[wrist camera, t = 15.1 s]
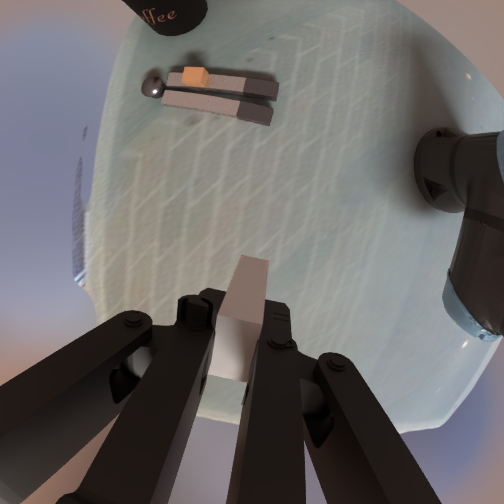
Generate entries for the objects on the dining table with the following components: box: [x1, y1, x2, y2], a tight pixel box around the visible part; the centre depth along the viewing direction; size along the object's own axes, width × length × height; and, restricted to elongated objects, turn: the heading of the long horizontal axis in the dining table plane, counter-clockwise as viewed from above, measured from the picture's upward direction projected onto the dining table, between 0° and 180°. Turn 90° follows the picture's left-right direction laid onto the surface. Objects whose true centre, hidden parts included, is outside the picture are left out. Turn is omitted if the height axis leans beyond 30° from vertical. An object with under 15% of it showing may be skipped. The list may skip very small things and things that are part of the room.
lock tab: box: [181, 67, 209, 87], centre depth 34 cm, size 3×2×3 cm
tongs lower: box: [141, 73, 279, 101], centre depth 37 cm, size 22×5×3 cm, turn 79°
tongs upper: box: [161, 90, 273, 126], centre depth 38 cm, size 18×2×2 cm, turn 75°
